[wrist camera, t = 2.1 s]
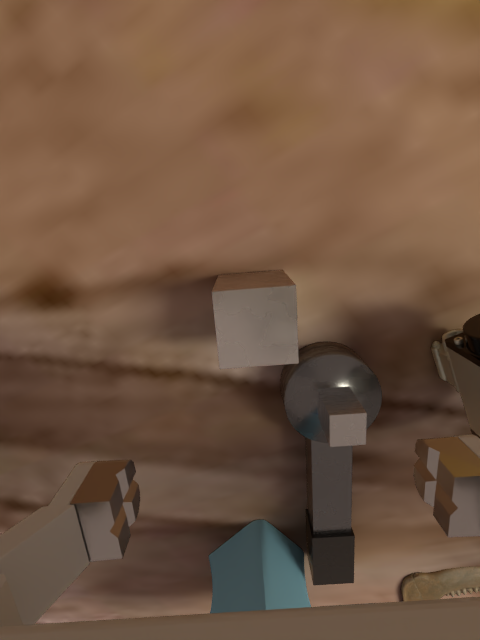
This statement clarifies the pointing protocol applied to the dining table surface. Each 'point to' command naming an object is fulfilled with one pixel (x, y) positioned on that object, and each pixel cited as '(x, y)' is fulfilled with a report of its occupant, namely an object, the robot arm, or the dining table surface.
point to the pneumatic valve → (462, 366)
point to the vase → (258, 571)
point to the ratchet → (330, 446)
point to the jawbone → (441, 583)
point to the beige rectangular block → (255, 319)
